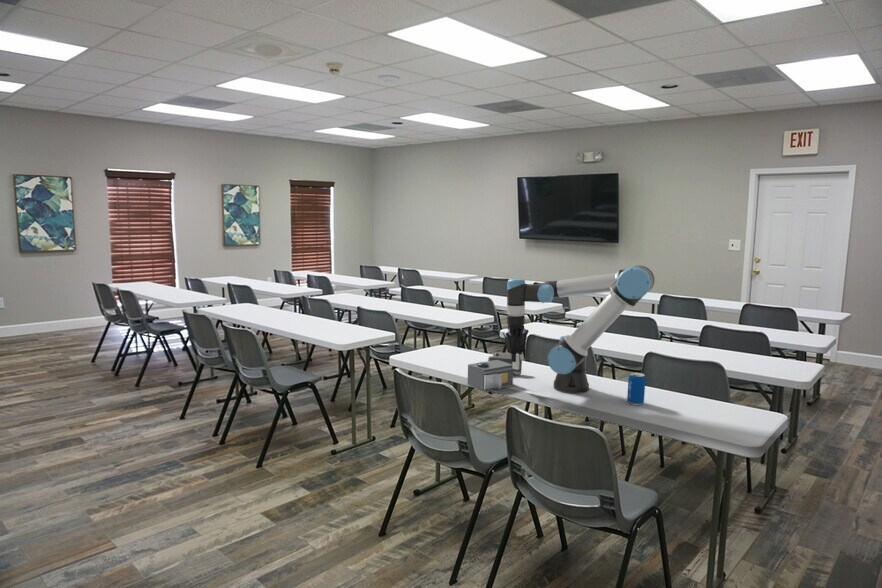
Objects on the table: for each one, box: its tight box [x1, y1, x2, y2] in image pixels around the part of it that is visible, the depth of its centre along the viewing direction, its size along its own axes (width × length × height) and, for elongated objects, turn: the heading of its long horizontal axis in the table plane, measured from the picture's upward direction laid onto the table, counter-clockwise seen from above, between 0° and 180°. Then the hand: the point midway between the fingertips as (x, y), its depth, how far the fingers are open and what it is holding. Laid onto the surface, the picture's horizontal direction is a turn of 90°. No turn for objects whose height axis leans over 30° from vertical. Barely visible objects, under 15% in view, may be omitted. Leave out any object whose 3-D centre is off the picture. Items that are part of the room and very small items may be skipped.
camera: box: [487, 352, 523, 376], centre depth 271 cm, size 9×16×10 cm, turn 86°
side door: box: [484, 373, 502, 390], centre depth 242 cm, size 3×7×6 cm, turn 125°
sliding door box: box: [467, 360, 515, 392], centre depth 250 cm, size 12×17×11 cm
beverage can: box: [626, 372, 647, 406], centre depth 228 cm, size 6×6×12 cm
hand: (515, 368), depth 244 cm, fingers closed
